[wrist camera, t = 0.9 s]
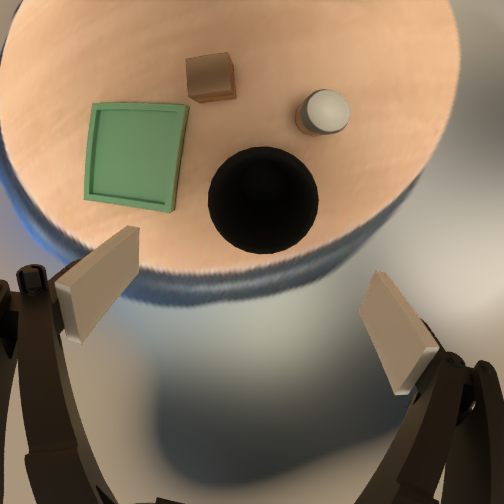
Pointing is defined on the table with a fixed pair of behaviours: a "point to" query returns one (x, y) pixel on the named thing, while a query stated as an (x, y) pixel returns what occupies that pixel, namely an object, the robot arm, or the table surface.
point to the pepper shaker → (323, 113)
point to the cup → (263, 200)
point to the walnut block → (210, 78)
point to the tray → (135, 154)
